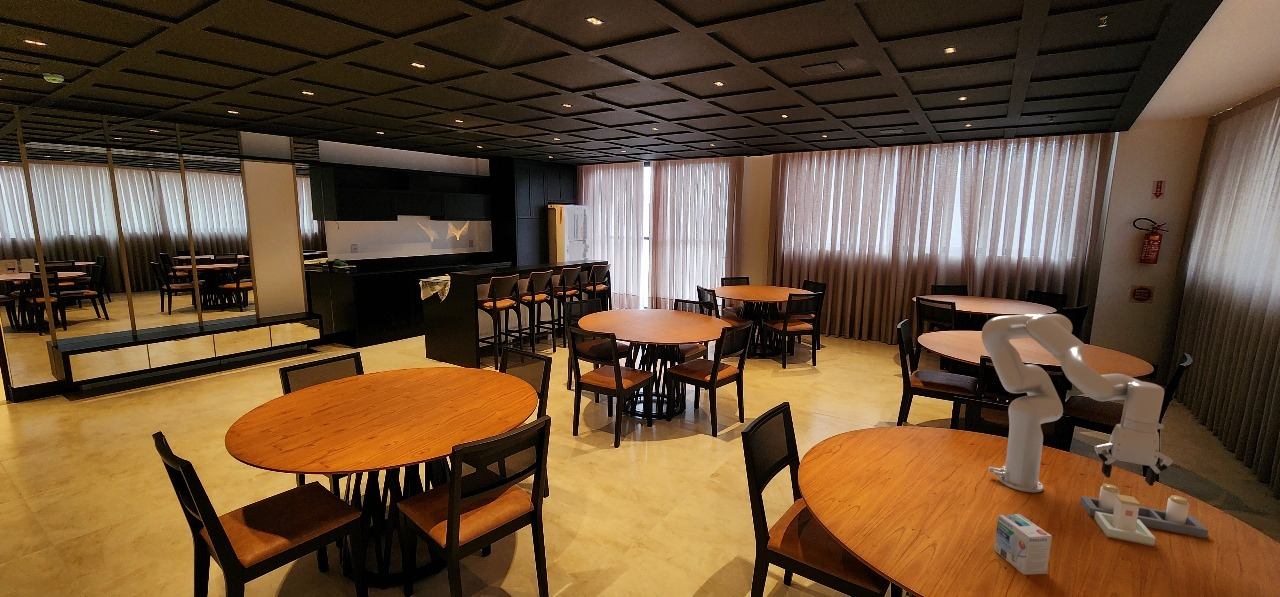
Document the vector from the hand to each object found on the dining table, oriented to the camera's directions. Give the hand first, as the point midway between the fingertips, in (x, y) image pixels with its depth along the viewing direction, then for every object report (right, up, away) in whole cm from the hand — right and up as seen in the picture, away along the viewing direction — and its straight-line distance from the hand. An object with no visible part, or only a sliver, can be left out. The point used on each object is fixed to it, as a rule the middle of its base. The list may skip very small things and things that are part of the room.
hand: (1127, 479), depth 152 cm
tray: (0, -16, +1) cm, 16 cm away
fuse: (0, -16, +1) cm, 16 cm away
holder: (+12, -15, +8) cm, 21 cm away
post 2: (+19, -16, +5) cm, 25 cm away
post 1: (+4, -15, +11) cm, 19 cm away
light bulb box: (-41, -18, -13) cm, 47 cm away
